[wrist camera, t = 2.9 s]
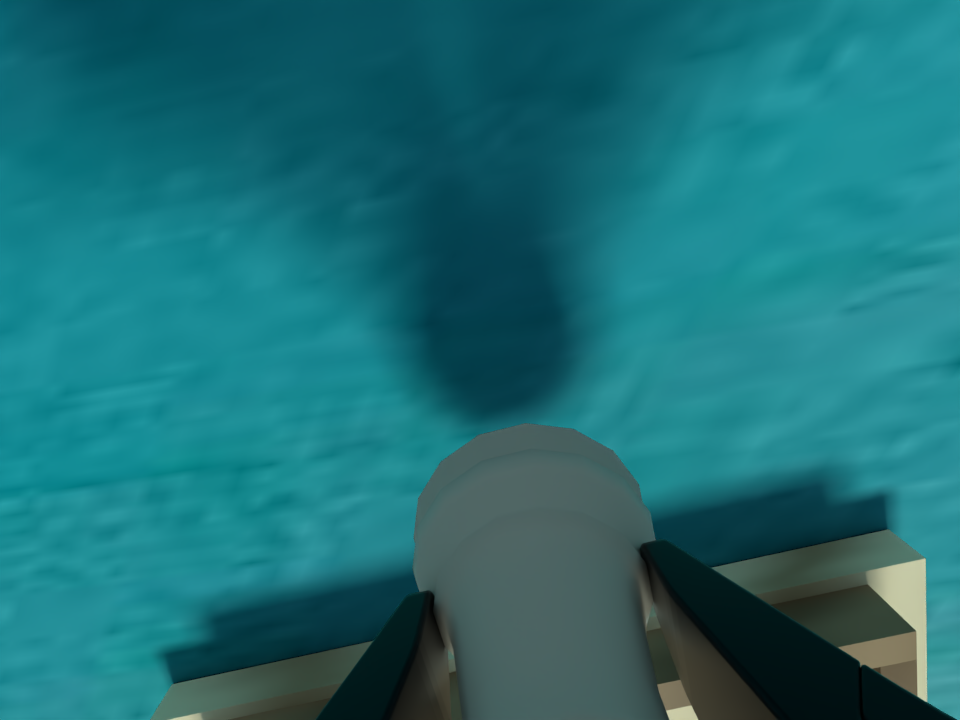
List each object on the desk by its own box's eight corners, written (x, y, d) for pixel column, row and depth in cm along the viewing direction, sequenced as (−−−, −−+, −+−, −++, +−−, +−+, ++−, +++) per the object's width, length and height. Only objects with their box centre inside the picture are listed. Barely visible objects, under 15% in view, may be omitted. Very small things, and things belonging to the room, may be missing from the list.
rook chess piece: (370, 526, 11) (120, 1324, 3) (521, 366, 10) (692, 938, 2) (533, 644, 12) (648, 1490, 4) (685, 507, 11) (1213, 1263, 3)
